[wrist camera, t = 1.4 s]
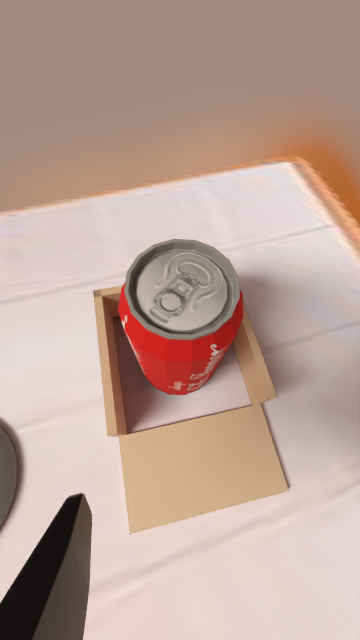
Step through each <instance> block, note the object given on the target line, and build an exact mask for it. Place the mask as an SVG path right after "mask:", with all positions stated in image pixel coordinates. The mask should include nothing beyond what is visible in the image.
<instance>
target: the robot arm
mask: <svg viewBox="0 0 360 640" xmlns="http://www.w3.org/2000/svg"><path fill="white" fill-rule="evenodd" d="M91 532H92V514H91V510H90V507H89V505H88V502H87V500H86V497H85V495H84V494H83V493H79V494H75V495H71V496H69V497H68V498H67V499H66V500H65V502H64V504H63V505H62V507H61V508H60V510H59V511H58V513H57V515H56V516H55V518H54V519H53V521H52V522H51V524H50V526H49V527H48V529H47V530H46V532H45V533H44V535H43V537H42V538H41V540H40V541H39V543H38V544H37V546H36V548H35V549H34V551H33V552H32V554H31V555H30V557H29V559H28V560H27V562H26V563H25V565H24V566H23V568H22V570H21V571H20V573H19V574H18V576H17V578H16V579H15V581H14V582H13V584H12V585H11V587H10V589H9V590H8V592H7V593H6V595H5V596H4V598H3V600H2V601H1V603H0V640H83V634H84V627H85V619H86V611H87V603H88V594H89V582H90V558H91Z"/></svg>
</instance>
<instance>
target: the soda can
mask: <svg viewBox="0 0 360 640" xmlns="http://www.w3.org/2000/svg"><path fill="white" fill-rule="evenodd" d="M118 311H119V315H120V318H121V321H122V325H123V328H124V331H125V334H126V336H127V338H128V340H129V342H130V345H131V347H132V349H133V351H134V353H135V355H136V358H137V360H138V362H139V364H140V366H141V369H142V371H143V373H144V375H145V377H146V378H147V379H148V380H149V381H150V383H151V384H152V385H153V386H154V387H155V388H157V389H159V390H161V391H163V392H165V393H167V394H175V395H185V394H188V393H191V392H193V391H196V390H199V389H200V388H201V387H202V386H203V385H204V384H205V383H206V382H207V381H208V380H209V379H210V378H211V376H212V374H213V373H214V371H215V369H216V368H217V366H218V364H219V363H220V361H221V359H222V358H223V356H224V355H225V353H226V351H227V350H228V348H229V346H230V345H231V343H232V341H233V340H234V338H235V336H236V334H237V331H238V329H239V326H240V324H241V321H242V319H243V316H244V312H243V296H242V292H241V290H240V288H239V277H238V275H237V273H236V272H235V270H234V268H233V266H232V264H231V262H230V260H229V259H227V258H226V257H225V256H224V255H223V254H221V253H220V252H219V251H218V250H217V249H215V248H214V247H212V246H209V245H206V244H204V243H201V242H198V241H196V240H182V239H173V240H169V241H165V242H162V243H158V244H154V245H153V246H151V247H150V248H148V249H147V250H146V251H144V252H143V253H141V254H140V255H138V256H137V258H136V259H135V261H134V262H133V264H132V265H131V267H130V268H129V270H128V271H127V275H126V282H125V283H124V285H123V286H122V288H121V294H120V300H119V307H118Z"/></svg>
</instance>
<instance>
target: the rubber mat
mask: <svg viewBox="0 0 360 640" xmlns="http://www.w3.org/2000/svg"><path fill="white" fill-rule="evenodd" d="M17 477H18V464H17V456H16V453H15V449H14V446H13V444H12V442H11V439H10V438H9V436H8V435H7V433H6V432H5V431H4V430H3V429H2V428H1V427H0V527H1V526H2V524H3V522H4V520H5V518H6V516H7V514H8V512H9V510H10V507H11V504H12V501H13V499H14V495H15V490H16V486H17Z"/></svg>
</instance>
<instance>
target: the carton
mask: <svg viewBox="0 0 360 640" xmlns="http://www.w3.org/2000/svg"><path fill="white" fill-rule="evenodd" d="M121 288H122V286H118V287H112V288H106V289H100V290H94V291H93V293H94V303H95V313H96V323H97V333H98V343H99V354H100V364H101V374H102V384H103V394H104V404H105V414H106V425H107V435H108V436H117V437H119V442H120V451H121V460H122V468H123V477H124V486H125V495H126V503H127V512H128V521H129V530H130V534H132V533H135V532H139V531H143V530H146V529H150V528H154V527H157V526H161V525H165V524H168V523H172V522H176V521H179V520H183V519H187V518H190V517H194V516H198V515H201V514H205V513H209V512H212V511H216V510H220V509H223V508H227V507H231V506H234V505H238V504H242V503H245V502H249V501H253V500H256V499H260V498H264V497H267V496H271V495H275V494H278V493H282V492H286V491H289V489H288V486H287V483H286V480H285V477H284V474H283V471H282V468H281V465H280V462H279V459H278V456H277V453H276V450H275V447H274V444H273V440H272V437H271V434H270V431H269V428H268V425H267V422H266V419H265V416H264V413H263V410H262V407H261V403H263V402H266V401H268V400H271V399H273V398H276V397H277V395H276V392H275V389H274V387H273V384H272V381H271V378H270V375H269V373H268V370H267V367H266V364H265V361H264V358H263V356H262V353H261V350H260V347H259V344H258V342H257V339H256V336H255V333H254V330H253V327H252V325H251V322H250V319H249V316H248V313H247V310H246V308H245V305H244V302H243V312H244V316H243V319H242V321H241V324H240V326H239V329H238V331H237V334H236V336H235V338H234V340H233V341H232V343H233V346H234V349H235V352H236V355H237V359H238V362H239V365H240V368H241V371H242V375H243V378H244V381H245V384H246V387H247V391H248V394H249V397H250V400H251V403H252V406H248V407H244V408H240V409H235V410H231V411H227V412H222V413H218V414H214V415H210V416H205V417H201V418H197V419H192V420H188V421H184V422H179V423H175V424H171V425H166V426H162V427H158V428H154V429H149V430H145V431H141V432H136V433H132V434H127V427H126V419H125V411H124V403H123V395H122V387H121V379H120V371H119V363H118V355H117V348H116V340H115V332H114V324H113V317H118V316H120V315H119V311H118V307H119V300H120V294H121Z"/></svg>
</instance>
